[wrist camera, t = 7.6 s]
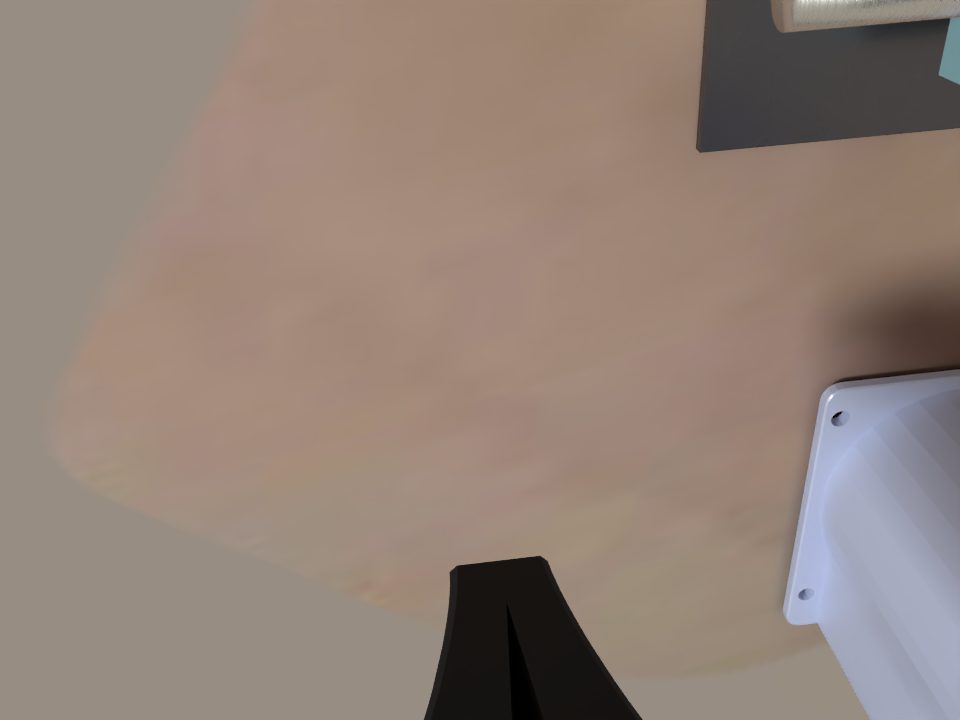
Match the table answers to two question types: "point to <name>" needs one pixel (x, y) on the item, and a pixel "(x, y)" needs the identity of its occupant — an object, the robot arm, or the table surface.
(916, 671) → the robot arm
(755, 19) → the grey metal stand
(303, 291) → the table surface
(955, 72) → the teal block on rod
